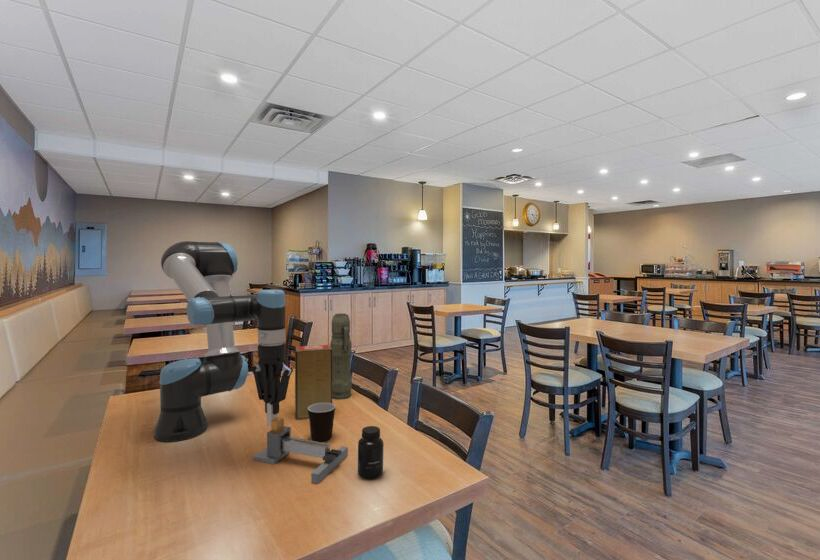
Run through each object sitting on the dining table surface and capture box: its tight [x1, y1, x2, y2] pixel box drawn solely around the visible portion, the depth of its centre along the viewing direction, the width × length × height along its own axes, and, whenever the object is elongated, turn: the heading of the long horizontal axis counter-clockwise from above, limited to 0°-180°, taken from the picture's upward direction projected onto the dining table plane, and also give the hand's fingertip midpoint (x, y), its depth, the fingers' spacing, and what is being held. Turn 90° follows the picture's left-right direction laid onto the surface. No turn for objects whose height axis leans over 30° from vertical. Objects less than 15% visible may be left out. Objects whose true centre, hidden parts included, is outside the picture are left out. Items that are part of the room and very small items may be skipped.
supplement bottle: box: [357, 425, 385, 480], centre depth 105 cm, size 7×7×12 cm
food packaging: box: [294, 344, 333, 420], centre depth 147 cm, size 13×9×25 cm
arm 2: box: [281, 435, 342, 457], centre depth 111 cm, size 19×2×3 cm, turn 71°
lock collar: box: [266, 416, 292, 460], centre depth 113 cm, size 4×5×10 cm
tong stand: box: [252, 445, 349, 485], centre depth 111 cm, size 24×16×7 cm, turn 71°
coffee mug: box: [308, 403, 336, 443], centre depth 128 cm, size 12×9×10 cm
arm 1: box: [281, 438, 336, 462], centre depth 109 cm, size 19×2×3 cm, turn 72°
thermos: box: [329, 313, 352, 400], centre depth 167 cm, size 9×12×35 cm
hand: (272, 424), depth 114 cm, fingers closed
